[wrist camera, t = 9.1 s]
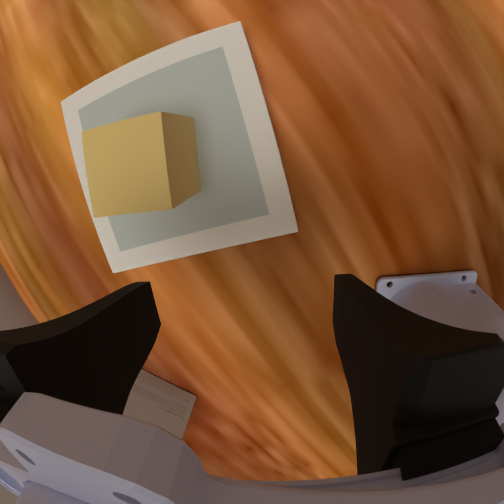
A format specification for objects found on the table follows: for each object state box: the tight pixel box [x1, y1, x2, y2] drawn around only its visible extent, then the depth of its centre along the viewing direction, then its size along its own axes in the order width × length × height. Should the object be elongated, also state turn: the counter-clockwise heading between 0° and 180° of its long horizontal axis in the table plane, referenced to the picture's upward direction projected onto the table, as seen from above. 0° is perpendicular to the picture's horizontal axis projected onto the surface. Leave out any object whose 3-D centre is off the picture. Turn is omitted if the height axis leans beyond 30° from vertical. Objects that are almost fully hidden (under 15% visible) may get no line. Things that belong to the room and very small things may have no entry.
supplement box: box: [123, 369, 197, 439], centre depth 23 cm, size 7×7×13 cm
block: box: [81, 111, 201, 218], centre depth 16 cm, size 5×5×5 cm
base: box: [61, 21, 298, 273], centre depth 19 cm, size 14×14×2 cm
